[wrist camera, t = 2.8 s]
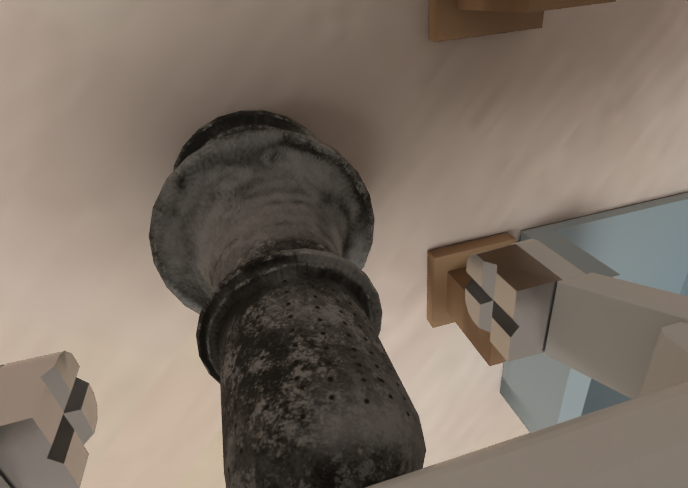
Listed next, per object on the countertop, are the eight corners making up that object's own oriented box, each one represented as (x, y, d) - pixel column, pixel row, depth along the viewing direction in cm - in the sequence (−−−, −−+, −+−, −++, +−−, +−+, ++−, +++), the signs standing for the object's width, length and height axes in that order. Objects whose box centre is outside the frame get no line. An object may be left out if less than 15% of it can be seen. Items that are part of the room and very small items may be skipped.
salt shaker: (303, 68, 13) (626, 296, 3) (362, 224, 16) (617, 588, 6) (121, 148, 13) (-184, 689, 3) (217, 291, 16) (239, 788, 6)
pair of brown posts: (430, -105, 12) (518, -145, 9) (545, -113, 13) (669, -153, 9) (427, 319, 20) (473, 386, 16) (499, 300, 20) (557, 360, 17)
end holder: (521, 231, 19) (591, 282, 15) (727, 183, 21) (829, 218, 17) (499, 392, 24) (548, 457, 20) (667, 340, 26) (737, 392, 22)
